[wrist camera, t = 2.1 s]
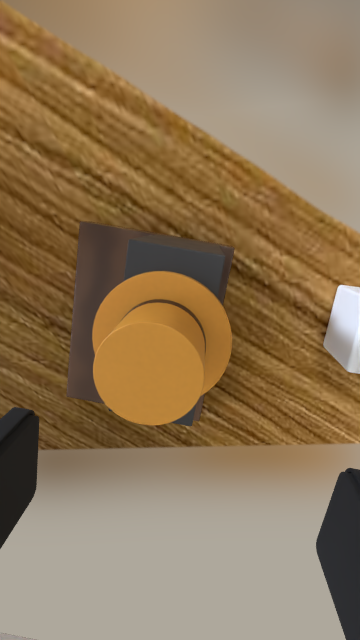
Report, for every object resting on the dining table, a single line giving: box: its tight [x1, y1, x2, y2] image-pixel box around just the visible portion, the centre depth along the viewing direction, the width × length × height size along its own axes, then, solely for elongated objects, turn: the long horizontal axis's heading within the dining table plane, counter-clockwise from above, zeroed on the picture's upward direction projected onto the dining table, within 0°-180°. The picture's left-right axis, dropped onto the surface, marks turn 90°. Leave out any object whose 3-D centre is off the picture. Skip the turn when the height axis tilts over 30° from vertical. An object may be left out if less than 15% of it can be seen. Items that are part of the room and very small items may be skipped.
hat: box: [92, 271, 232, 425], centre depth 19 cm, size 9×9×6 cm
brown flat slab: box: [67, 221, 234, 421], centre depth 37 cm, size 15×19×4 cm
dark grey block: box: [109, 235, 225, 426], centre depth 28 cm, size 6×12×12 cm, turn 171°
